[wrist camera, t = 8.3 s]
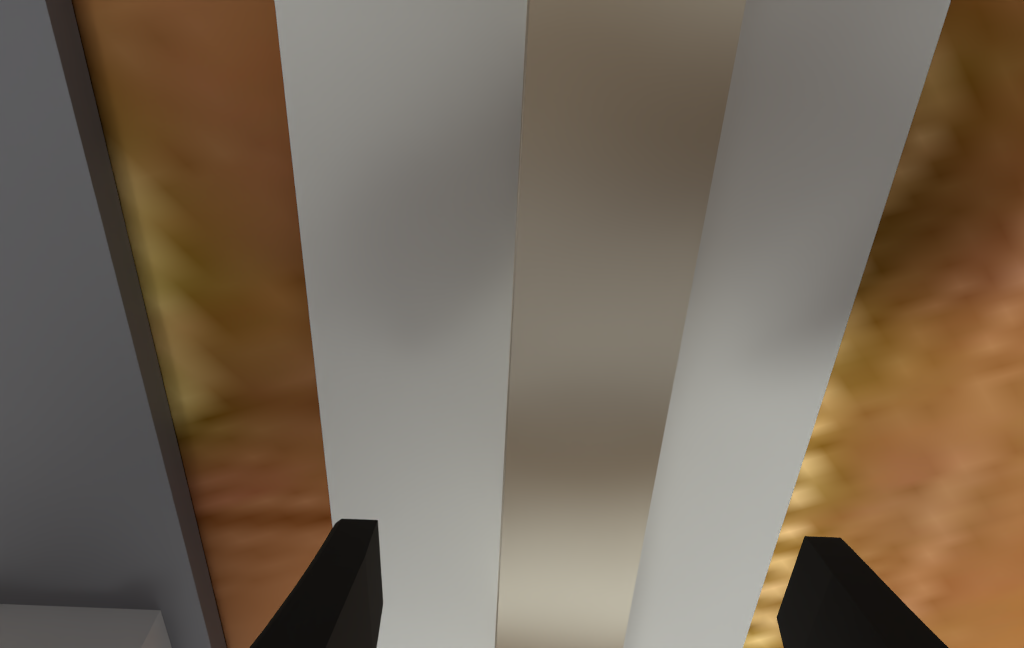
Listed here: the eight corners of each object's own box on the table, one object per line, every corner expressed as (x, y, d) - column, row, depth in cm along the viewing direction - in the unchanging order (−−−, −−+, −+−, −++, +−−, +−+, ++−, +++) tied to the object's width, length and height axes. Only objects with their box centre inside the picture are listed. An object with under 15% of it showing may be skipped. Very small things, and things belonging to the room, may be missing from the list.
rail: (587, 688, 22) (595, 789, 20) (492, 685, 22) (489, 785, 20) (730, -217, 11) (796, -261, 8) (538, -227, 11) (544, -275, 8)
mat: (708, 722, 24) (712, 740, 24) (358, 709, 24) (354, 726, 23) (1057, -401, 10) (1086, -420, 10) (237, -450, 10) (223, -471, 10)
